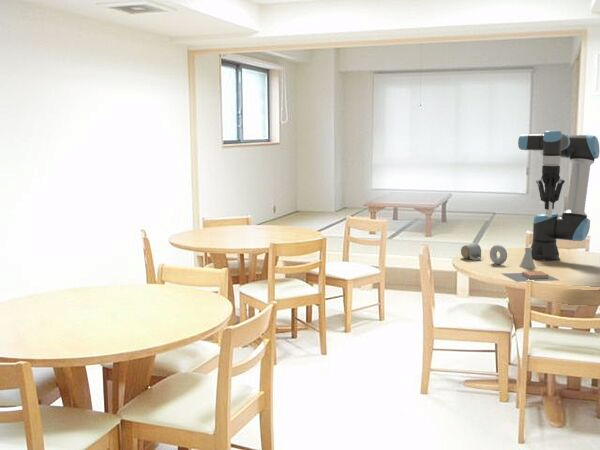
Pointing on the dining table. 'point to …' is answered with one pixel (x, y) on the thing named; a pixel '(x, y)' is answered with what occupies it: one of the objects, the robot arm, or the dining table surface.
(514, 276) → the mat
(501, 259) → the donut
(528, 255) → the flask
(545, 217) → the robot arm
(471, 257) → the ceramic mug
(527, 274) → the tile
